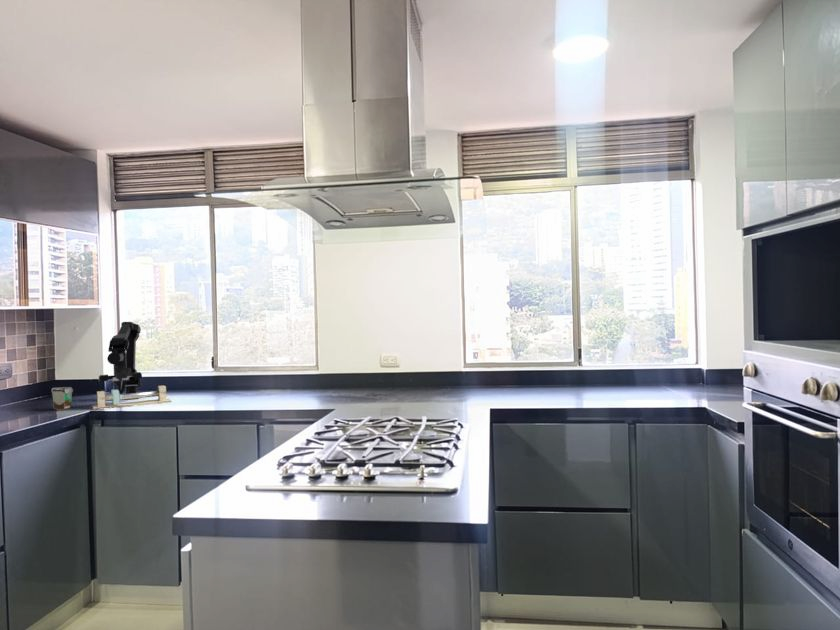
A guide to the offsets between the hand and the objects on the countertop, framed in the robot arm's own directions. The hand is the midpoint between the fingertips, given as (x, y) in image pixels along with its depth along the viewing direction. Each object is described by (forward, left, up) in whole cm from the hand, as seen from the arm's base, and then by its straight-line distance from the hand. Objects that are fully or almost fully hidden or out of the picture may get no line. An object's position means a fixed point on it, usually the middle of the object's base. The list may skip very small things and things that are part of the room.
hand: (121, 394), depth 289 cm
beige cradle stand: (+6, +4, -5) cm, 9 cm away
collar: (+4, -3, -4) cm, 6 cm away
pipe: (+6, +4, -2) cm, 8 cm away
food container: (-5, -24, -5) cm, 25 cm away
